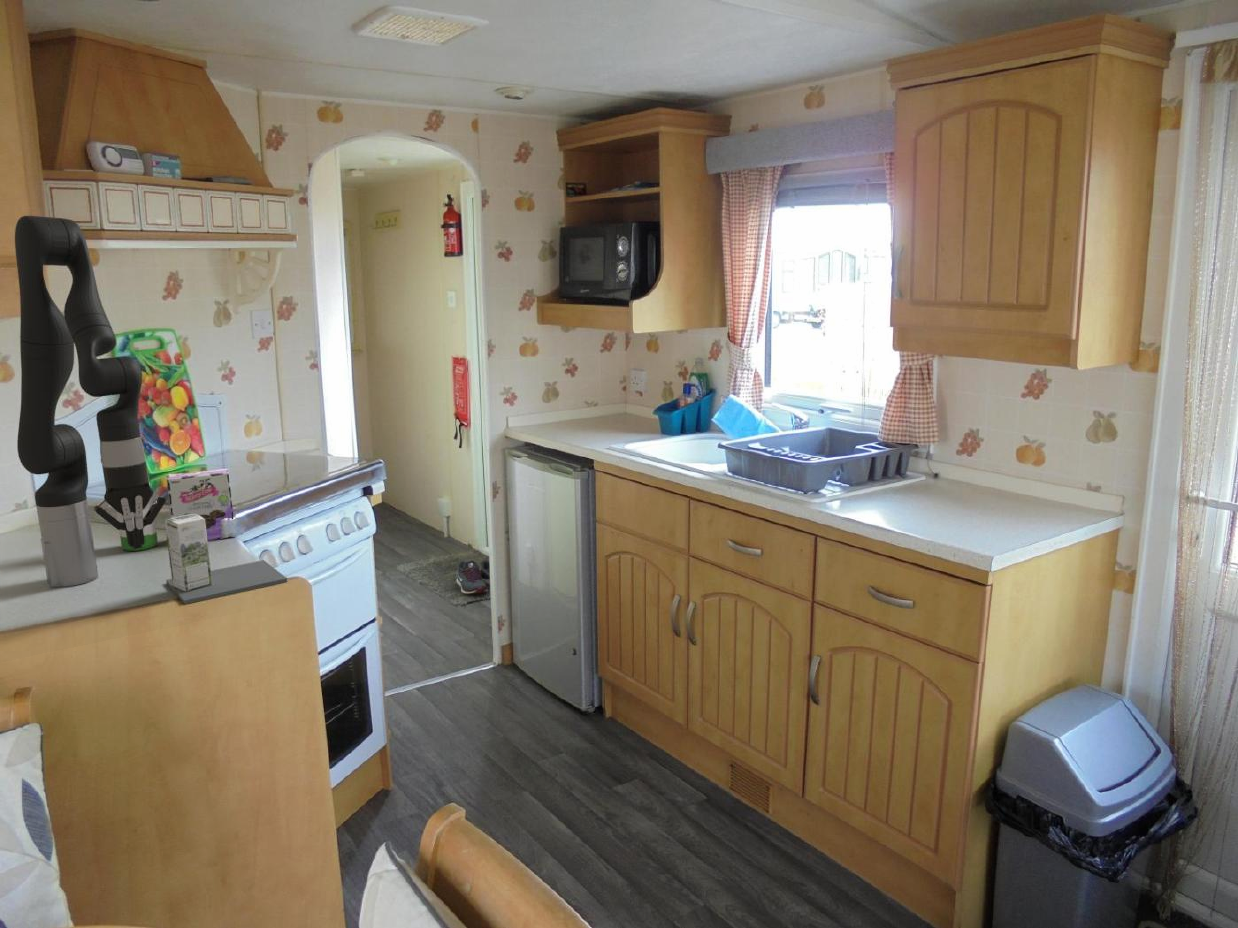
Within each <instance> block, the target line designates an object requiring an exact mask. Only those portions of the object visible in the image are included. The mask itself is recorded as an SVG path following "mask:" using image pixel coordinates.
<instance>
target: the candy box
mask: <svg viewBox="0 0 1238 928" xmlns="http://www.w3.org/2000/svg"><path fill="white" fill-rule="evenodd" d="M166 476H167V477H166V482H167V493H168V502H169V511H170V518H174V517H179V516H183V515H188V514H196V515H199V516H201V517H203V518H204V519H205V524H206V533H207V542H208V541H217V540H221V539H220V538H222V537H223V536H222V533H221V531H222V530H221V528H220V527H221V526H222V525H221V523H220V522H222V521H221V520H222V519H224V518H227V517H228V518H232V519H233V517H234V518H235V516H234V510H233V509H234V508H233V499H232V490H231V480H230V479H231V478H230V472H229V468H222V469H221V468H220V469H212V470H211V469H210V470H202V471H192V472H191V471H190V472H183V473H170V474H168V473H167V475H166Z"/></svg>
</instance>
